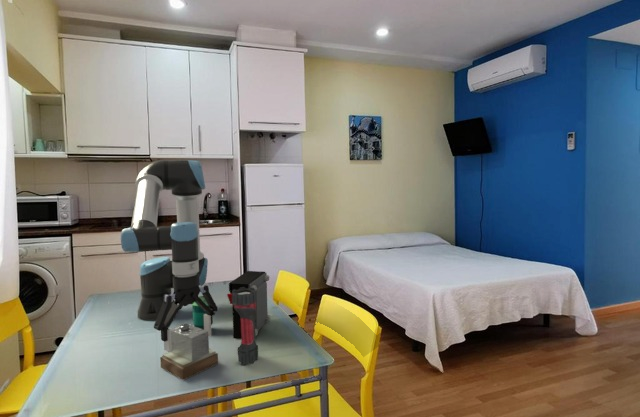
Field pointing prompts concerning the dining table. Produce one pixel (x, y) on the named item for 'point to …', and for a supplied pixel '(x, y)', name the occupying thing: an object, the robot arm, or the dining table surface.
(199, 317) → the cup
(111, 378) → the dining table surface
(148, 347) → the dining table surface
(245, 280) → the electrical component
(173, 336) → the housing
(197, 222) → the robot arm
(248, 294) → the flashlight
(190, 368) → the stand
